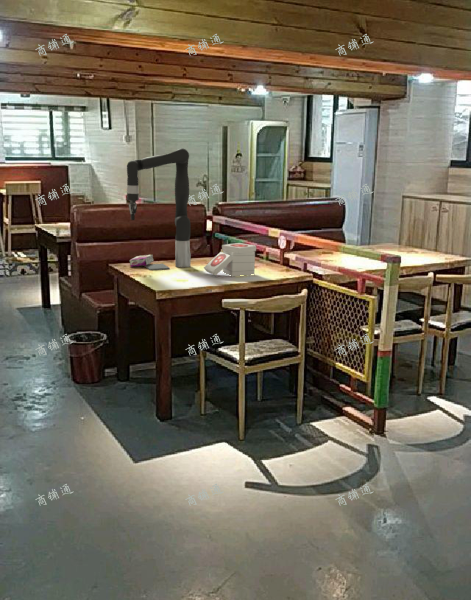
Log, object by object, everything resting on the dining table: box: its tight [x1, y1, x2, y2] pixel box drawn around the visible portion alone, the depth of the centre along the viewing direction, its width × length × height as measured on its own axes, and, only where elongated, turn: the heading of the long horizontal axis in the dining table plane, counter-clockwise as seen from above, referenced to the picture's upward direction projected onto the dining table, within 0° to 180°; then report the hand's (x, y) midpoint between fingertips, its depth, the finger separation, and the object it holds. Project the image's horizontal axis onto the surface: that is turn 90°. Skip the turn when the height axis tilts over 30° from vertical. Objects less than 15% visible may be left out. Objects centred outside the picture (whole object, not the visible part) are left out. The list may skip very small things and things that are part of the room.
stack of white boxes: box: [203, 242, 257, 277], centre depth 385 cm, size 19×30×18 cm, turn 114°
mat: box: [143, 263, 171, 271], centre depth 404 cm, size 13×16×1 cm
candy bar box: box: [129, 254, 154, 268], centre depth 411 cm, size 11×5×16 cm
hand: (132, 220), depth 401 cm, fingers closed
